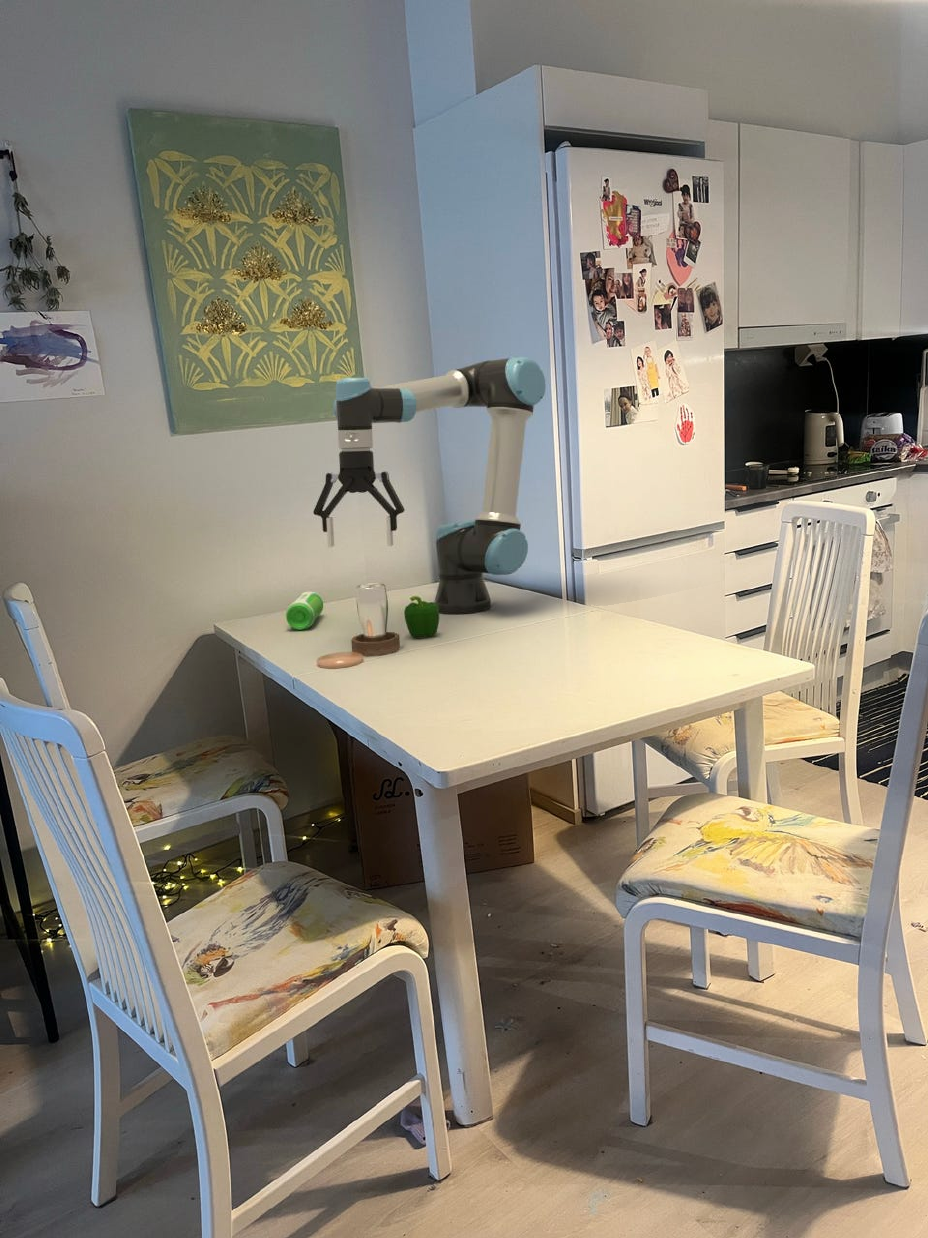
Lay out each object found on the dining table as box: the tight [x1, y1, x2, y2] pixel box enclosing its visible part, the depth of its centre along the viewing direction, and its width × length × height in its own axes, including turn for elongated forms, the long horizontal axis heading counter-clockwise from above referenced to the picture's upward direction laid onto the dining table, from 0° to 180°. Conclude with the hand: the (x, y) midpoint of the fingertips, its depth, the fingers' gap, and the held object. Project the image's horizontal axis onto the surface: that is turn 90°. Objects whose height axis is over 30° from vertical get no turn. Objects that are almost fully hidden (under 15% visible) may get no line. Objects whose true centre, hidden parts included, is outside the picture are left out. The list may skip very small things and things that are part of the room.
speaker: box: [285, 590, 324, 631], centre depth 250 cm, size 18×7×8 cm, turn 179°
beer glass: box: [355, 582, 389, 642], centre depth 216 cm, size 7×7×15 cm
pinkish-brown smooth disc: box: [316, 651, 364, 670], centre depth 209 cm, size 10×10×1 cm
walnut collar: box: [350, 631, 401, 657], centre depth 217 cm, size 11×11×3 cm
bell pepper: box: [404, 595, 440, 639], centre depth 227 cm, size 8×8×10 cm
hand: (360, 546), depth 215 cm, fingers open, 13 cm apart
